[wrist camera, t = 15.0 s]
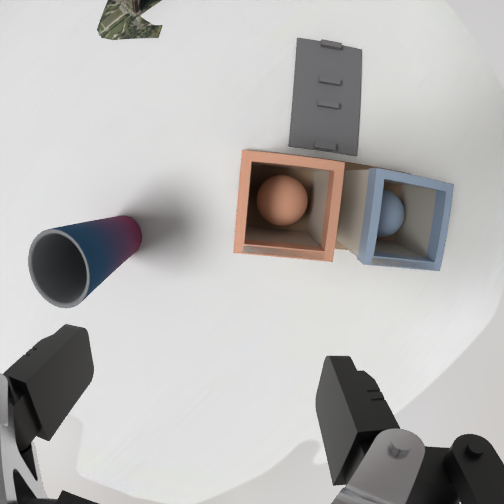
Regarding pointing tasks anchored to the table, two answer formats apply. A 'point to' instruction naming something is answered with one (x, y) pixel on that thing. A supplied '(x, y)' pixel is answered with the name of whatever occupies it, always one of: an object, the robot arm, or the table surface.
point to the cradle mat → (326, 97)
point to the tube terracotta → (320, 213)
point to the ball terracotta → (282, 200)
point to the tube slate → (412, 229)
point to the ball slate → (390, 214)
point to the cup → (80, 257)
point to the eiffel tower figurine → (127, 20)
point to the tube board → (305, 178)
